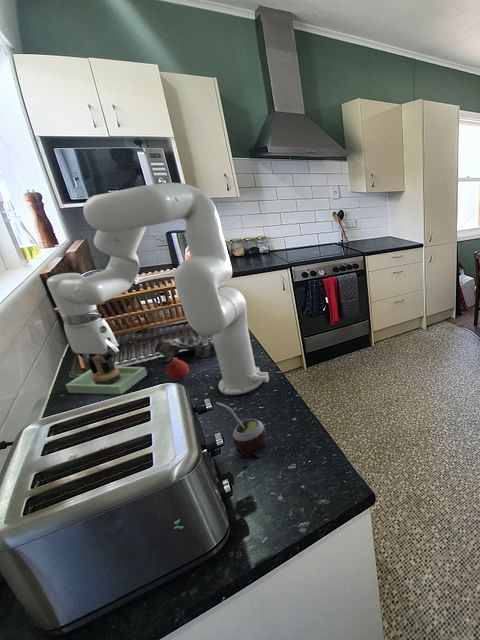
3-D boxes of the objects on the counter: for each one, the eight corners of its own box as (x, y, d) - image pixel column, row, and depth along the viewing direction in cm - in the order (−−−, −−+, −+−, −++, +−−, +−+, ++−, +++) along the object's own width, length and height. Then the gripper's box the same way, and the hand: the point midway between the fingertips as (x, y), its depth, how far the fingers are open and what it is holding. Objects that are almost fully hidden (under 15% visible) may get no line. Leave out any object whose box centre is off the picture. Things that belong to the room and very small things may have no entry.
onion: (180, 386, 108) (173, 364, 104) (165, 383, 109) (157, 361, 105) (195, 376, 113) (189, 354, 109) (180, 373, 114) (174, 352, 110)
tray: (147, 374, 113) (145, 367, 112) (121, 394, 103) (118, 386, 102) (99, 373, 112) (96, 365, 111) (68, 392, 103) (65, 385, 102)
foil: (201, 357, 117) (159, 333, 114) (192, 377, 122) (151, 355, 119) (222, 339, 127) (184, 318, 125) (213, 359, 132) (176, 338, 129)
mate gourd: (273, 452, 85) (263, 403, 79) (239, 469, 80) (225, 418, 74) (261, 436, 90) (251, 388, 83) (228, 451, 85) (215, 402, 78)
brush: (126, 375, 110) (117, 351, 107) (109, 386, 104) (99, 362, 101) (106, 374, 110) (96, 351, 107) (88, 386, 104) (77, 362, 101)
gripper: (120, 312, 102) (140, 365, 109) (65, 310, 102) (88, 364, 109) (98, 323, 95) (121, 379, 103) (39, 321, 95) (65, 377, 102)
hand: (104, 370), depth 106 cm, fingers closed on brush, 2 cm apart
